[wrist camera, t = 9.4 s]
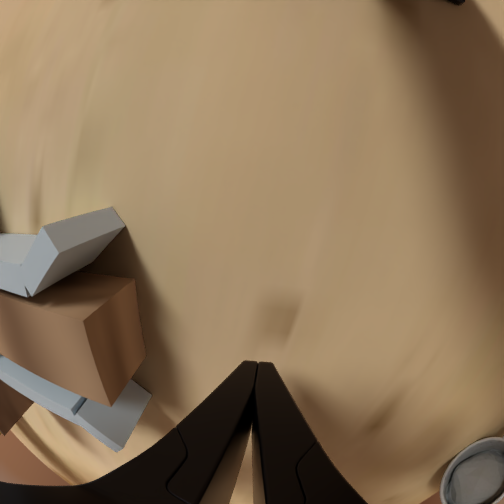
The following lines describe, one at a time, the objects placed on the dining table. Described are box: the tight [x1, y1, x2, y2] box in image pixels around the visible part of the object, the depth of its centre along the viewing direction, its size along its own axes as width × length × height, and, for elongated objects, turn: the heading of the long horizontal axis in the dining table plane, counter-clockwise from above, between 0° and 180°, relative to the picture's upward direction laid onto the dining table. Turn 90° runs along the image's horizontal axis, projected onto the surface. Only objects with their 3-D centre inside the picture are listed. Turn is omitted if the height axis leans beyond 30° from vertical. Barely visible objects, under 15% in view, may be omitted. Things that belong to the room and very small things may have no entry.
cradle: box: [0, 207, 152, 452], centre depth 10 cm, size 11×11×4 cm
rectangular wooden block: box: [0, 271, 147, 407], centre depth 10 cm, size 10×4×4 cm, turn 88°
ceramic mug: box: [440, 435, 504, 504], centre depth 10 cm, size 11×8×8 cm
